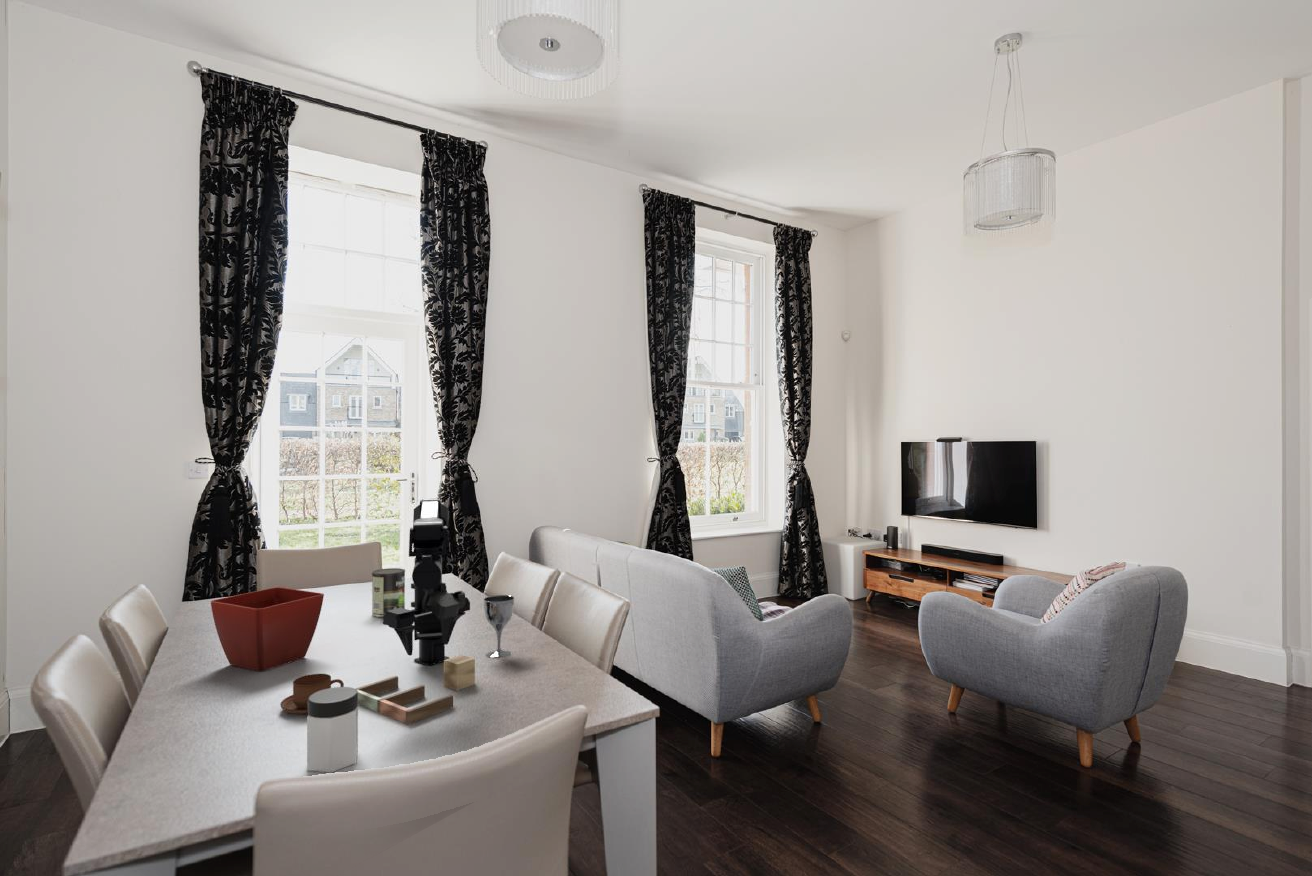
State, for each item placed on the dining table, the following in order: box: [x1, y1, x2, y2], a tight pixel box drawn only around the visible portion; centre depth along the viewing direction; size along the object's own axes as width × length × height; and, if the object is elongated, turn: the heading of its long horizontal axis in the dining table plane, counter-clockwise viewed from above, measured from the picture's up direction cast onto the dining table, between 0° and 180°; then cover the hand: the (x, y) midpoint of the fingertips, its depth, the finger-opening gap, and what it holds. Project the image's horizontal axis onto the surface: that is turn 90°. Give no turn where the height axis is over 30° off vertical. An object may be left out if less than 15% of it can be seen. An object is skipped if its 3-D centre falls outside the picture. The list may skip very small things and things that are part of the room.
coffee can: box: [371, 567, 406, 618], centre depth 227 cm, size 10×10×14 cm
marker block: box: [443, 654, 476, 691], centre depth 161 cm, size 5×5×6 cm
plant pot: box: [210, 586, 325, 672], centre depth 178 cm, size 19×19×17 cm
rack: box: [355, 675, 454, 725], centre depth 149 cm, size 21×11×2 cm, turn 54°
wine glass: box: [483, 594, 515, 659], centre depth 184 cm, size 8×8×15 cm
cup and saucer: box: [280, 673, 345, 715], centre depth 147 cm, size 12×12×6 cm
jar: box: [306, 686, 359, 773], centre depth 122 cm, size 9×8×12 cm
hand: (428, 649), depth 150 cm, fingers open, 9 cm apart
